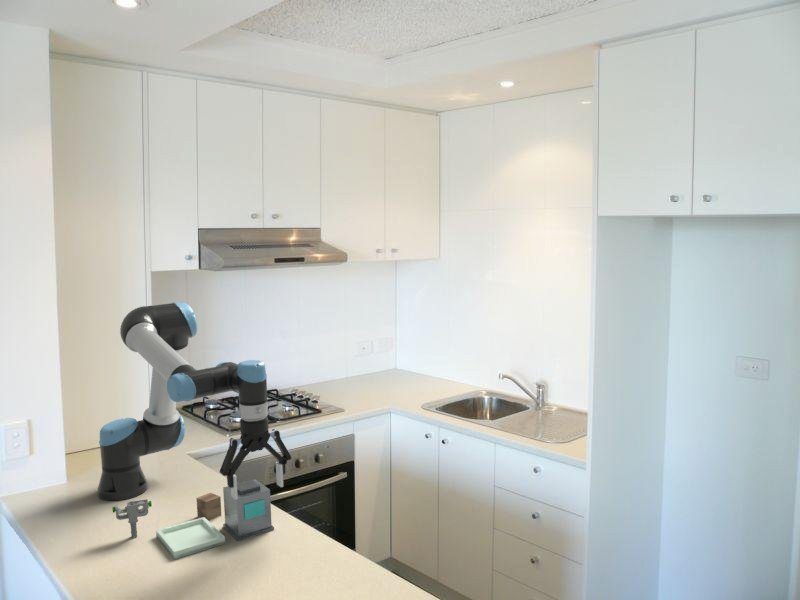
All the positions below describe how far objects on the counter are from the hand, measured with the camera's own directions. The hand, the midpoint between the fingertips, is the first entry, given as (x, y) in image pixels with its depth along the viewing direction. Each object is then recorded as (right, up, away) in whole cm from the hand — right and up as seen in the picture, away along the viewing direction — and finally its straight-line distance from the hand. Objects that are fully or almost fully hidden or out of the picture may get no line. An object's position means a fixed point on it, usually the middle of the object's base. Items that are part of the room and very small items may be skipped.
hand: (257, 491), depth 196 cm
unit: (-4, -13, +8) cm, 16 cm away
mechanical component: (-36, -14, +4) cm, 39 cm away
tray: (-19, -14, +2) cm, 24 cm away
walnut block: (-18, -12, +17) cm, 27 cm away
